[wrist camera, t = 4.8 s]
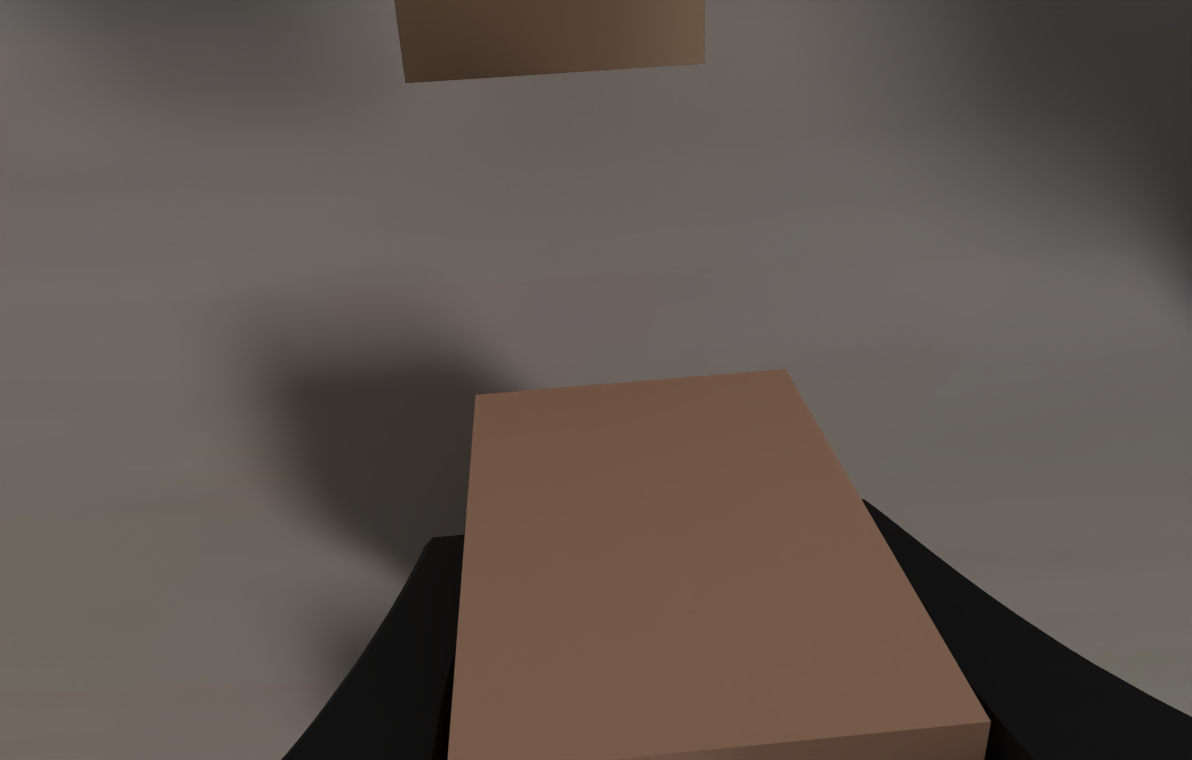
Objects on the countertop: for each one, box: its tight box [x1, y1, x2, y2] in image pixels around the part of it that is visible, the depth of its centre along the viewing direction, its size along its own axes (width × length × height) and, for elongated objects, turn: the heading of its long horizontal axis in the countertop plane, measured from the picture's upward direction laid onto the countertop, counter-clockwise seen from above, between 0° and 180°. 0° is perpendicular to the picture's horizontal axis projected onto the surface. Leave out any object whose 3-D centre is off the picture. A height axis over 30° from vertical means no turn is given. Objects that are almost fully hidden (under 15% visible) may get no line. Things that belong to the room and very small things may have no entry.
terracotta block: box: [448, 369, 991, 760], centre depth 11 cm, size 4×4×6 cm
